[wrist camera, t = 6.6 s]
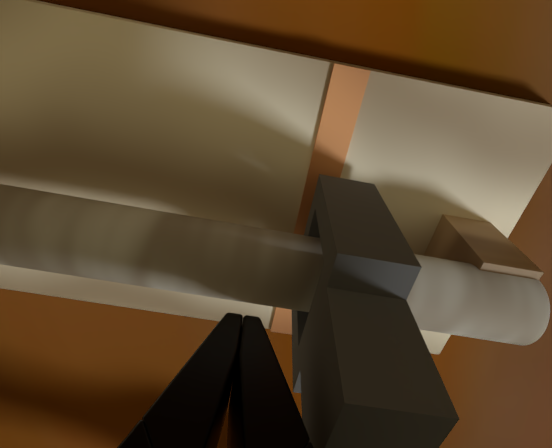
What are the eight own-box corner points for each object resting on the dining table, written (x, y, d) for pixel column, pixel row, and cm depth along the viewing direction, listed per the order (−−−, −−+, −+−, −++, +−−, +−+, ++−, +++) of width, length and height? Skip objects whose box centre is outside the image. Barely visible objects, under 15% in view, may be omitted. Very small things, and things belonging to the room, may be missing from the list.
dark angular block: (337, 292, 15) (383, 524, 8) (291, 284, 15) (295, 514, 8) (374, 184, 12) (486, 381, 5) (319, 173, 12) (362, 362, 5)
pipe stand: (428, 331, 19) (483, 447, 14) (-76, 253, 17) (-234, 351, 12) (551, 104, 13) (726, 154, 8) (-187, -45, 12) (-581, -108, 6)
